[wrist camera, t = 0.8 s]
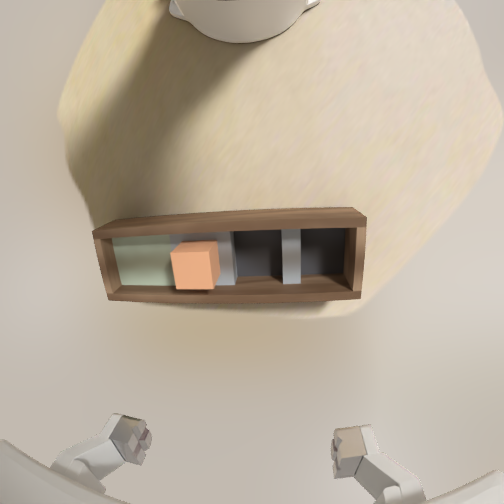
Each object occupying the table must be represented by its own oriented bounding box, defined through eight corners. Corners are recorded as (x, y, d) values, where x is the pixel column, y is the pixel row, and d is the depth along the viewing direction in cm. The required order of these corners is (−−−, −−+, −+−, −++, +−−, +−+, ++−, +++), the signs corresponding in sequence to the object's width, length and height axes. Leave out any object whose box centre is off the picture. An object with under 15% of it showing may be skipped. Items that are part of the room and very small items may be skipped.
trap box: (114, 220, 34) (92, 231, 29) (352, 207, 31) (366, 217, 26) (127, 282, 37) (108, 300, 32) (349, 278, 34) (360, 298, 29)
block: (182, 241, 31) (170, 252, 27) (216, 239, 31) (208, 251, 27) (187, 273, 32) (176, 289, 29) (220, 273, 32) (213, 289, 28)
